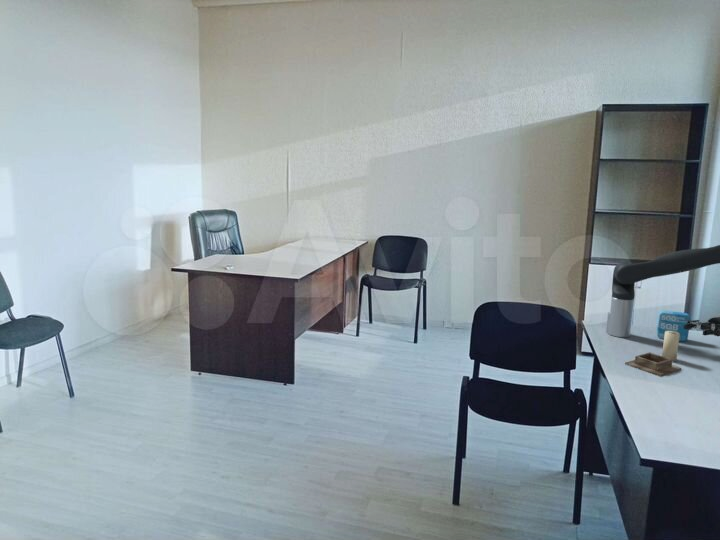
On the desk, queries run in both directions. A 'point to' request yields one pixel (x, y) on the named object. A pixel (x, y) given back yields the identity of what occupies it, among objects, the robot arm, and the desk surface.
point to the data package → (672, 324)
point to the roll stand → (653, 364)
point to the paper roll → (670, 345)
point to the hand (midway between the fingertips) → (693, 329)
